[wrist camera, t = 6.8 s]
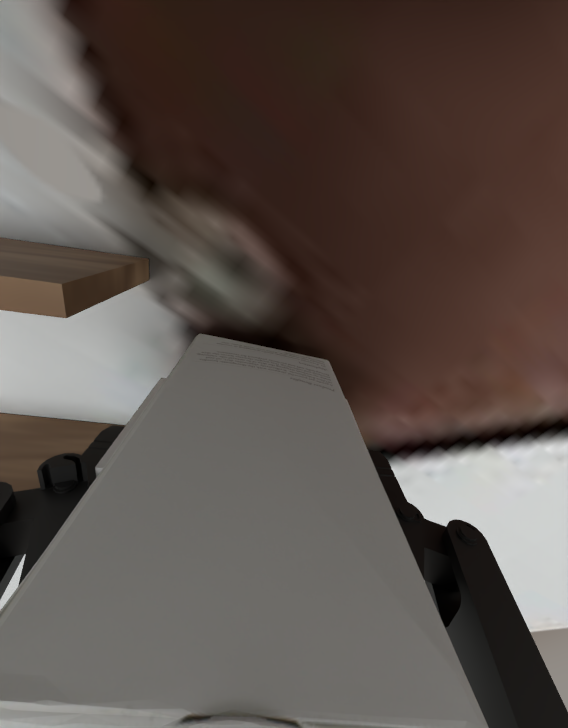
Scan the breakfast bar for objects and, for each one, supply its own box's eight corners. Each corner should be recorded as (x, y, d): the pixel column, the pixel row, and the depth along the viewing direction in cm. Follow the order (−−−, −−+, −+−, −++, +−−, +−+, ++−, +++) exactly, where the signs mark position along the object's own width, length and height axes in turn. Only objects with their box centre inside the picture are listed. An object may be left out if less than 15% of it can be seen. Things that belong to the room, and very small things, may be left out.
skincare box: (184, 418, 20) (-37, 864, 6) (197, 322, 18) (-134, 715, 4) (308, 442, 21) (363, 882, 7) (338, 355, 19) (520, 773, 4)
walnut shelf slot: (-80, 226, 17) (-348, 228, 10) (148, 258, 18) (61, 283, 11) (-20, 424, 22) (-164, 524, 15) (154, 441, 23) (98, 542, 16)
